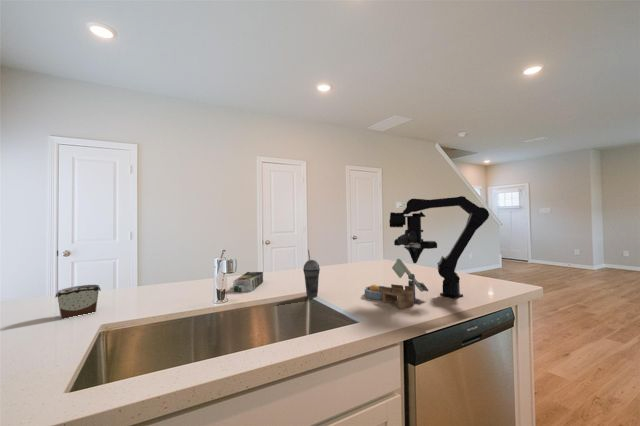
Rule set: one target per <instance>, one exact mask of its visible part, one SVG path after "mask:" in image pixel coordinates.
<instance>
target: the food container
mask: <svg viewBox="0 0 640 426" xmlns="http://www.w3.org/2000/svg"><path fill="white" fill-rule="evenodd" d="M100 291H101V287H100V285H99V284H83V285H75V286H71V287H66V288H62V289H60V290H58V291H56V293H55V296H54V298H57V302H58V309H59V315H60V320H61V319H63V320H65V319H64V318H68V319H70V318H69V317H73V316H77V317H79V316H78V315H82V316H84V315H83V314H87V315H89V314H88V313H92V312H96V313H97V307H98V299H99V298H98V297H99V292H100ZM92 314H93V313H92ZM73 318H74V317H73Z"/></svg>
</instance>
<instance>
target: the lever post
mask: <svg viewBox="0 0 640 426" xmlns="http://www.w3.org/2000/svg"><path fill="white" fill-rule="evenodd" d="M407 282H408V283H407V284H408V285H407V286H413V290H414V291H413V295H414V304H415V303H419V302H421V300H420V299H419V298H417V297H416V285H415V281H412V280H410V279H408V281H407Z"/></svg>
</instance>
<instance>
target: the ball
mask: <svg viewBox="0 0 640 426" xmlns="http://www.w3.org/2000/svg"><path fill="white" fill-rule="evenodd" d="M378 286H379V285H377V284H371V285H370V291H372V292H379V287H378Z"/></svg>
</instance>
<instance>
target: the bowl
mask: <svg viewBox="0 0 640 426" xmlns="http://www.w3.org/2000/svg"><path fill="white" fill-rule="evenodd" d="M370 286H371V285H370ZM370 286H369V285H368V286H365V288H364V296H365V297H366V298H367V299H371V300H374V301H375V300H377V301H383V294H382V293H380V287H381V286H383V287H386V286H385V285H377V286H378V287H379V292H372V291H370Z"/></svg>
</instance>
